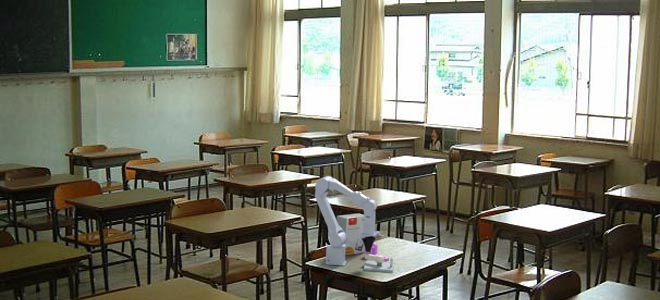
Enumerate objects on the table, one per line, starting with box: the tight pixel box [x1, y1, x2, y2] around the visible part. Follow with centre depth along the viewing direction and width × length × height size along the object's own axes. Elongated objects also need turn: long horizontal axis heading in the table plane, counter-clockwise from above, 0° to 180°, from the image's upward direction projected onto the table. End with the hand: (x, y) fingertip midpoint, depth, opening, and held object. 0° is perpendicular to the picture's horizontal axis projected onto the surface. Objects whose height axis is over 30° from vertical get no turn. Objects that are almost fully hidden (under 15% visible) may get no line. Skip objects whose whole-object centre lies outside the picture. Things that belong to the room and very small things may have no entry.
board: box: [363, 257, 395, 274], centre depth 399 cm, size 14×14×6 cm
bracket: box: [364, 242, 390, 262], centre depth 417 cm, size 13×6×7 cm, turn 48°
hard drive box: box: [336, 213, 365, 256], centre depth 425 cm, size 16×8×20 cm, turn 129°
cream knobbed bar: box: [364, 253, 385, 263], centre depth 401 cm, size 10×4×3 cm, turn 53°
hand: (367, 251), depth 398 cm, fingers closed
